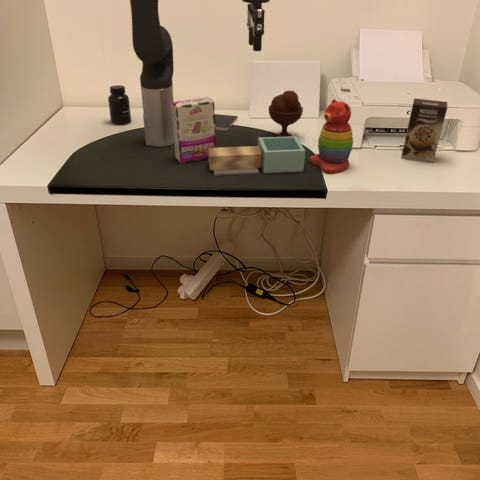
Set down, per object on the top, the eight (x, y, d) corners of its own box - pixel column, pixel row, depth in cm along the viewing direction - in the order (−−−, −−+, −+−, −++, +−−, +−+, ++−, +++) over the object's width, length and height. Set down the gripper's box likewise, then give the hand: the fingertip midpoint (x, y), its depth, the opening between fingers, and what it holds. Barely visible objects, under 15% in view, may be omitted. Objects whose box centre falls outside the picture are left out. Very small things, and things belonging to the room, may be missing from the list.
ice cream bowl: (300, 132, 155) (304, 85, 147) (300, 144, 146) (304, 95, 137) (268, 130, 156) (270, 84, 148) (266, 142, 146) (268, 94, 138)
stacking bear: (306, 160, 135) (311, 98, 125) (335, 155, 138) (343, 94, 129) (327, 175, 127) (334, 110, 117) (357, 169, 130) (367, 105, 120)
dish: (263, 173, 127) (264, 152, 124) (257, 157, 137) (258, 137, 133) (303, 171, 129) (305, 150, 125) (294, 155, 138) (296, 136, 134)
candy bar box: (210, 151, 140) (208, 96, 131) (216, 157, 136) (215, 101, 127) (174, 157, 136) (170, 101, 127) (180, 164, 132) (176, 106, 123)
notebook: (237, 120, 166) (181, 115, 171) (237, 116, 165) (180, 110, 170) (227, 132, 156) (167, 126, 160) (227, 127, 155) (167, 121, 159)
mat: (214, 175, 125) (214, 173, 125) (211, 159, 135) (211, 157, 134) (258, 174, 127) (258, 172, 126) (252, 158, 136) (252, 156, 136)
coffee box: (400, 158, 137) (412, 103, 128) (402, 151, 142) (413, 97, 133) (433, 163, 134) (447, 107, 125) (434, 155, 139) (447, 100, 130)
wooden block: (209, 170, 127) (209, 156, 125) (208, 161, 132) (208, 147, 130) (260, 167, 129) (261, 154, 127) (257, 159, 134) (257, 146, 132)
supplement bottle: (129, 125, 159) (124, 89, 152) (109, 125, 159) (103, 89, 152) (133, 119, 164) (129, 84, 158) (114, 119, 165) (109, 84, 158)
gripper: (238, -21, 127) (238, 43, 136) (245, -17, 115) (244, 53, 124) (266, -21, 128) (263, 43, 137) (275, -17, 116) (272, 52, 125)
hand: (254, 47), depth 130 cm, fingers open, 8 cm apart
